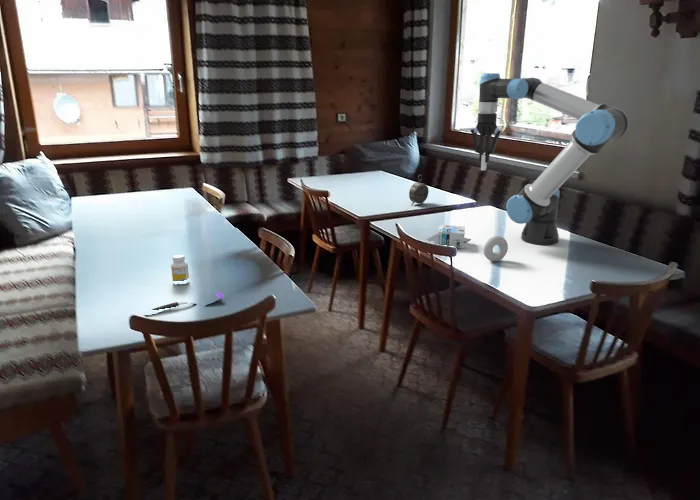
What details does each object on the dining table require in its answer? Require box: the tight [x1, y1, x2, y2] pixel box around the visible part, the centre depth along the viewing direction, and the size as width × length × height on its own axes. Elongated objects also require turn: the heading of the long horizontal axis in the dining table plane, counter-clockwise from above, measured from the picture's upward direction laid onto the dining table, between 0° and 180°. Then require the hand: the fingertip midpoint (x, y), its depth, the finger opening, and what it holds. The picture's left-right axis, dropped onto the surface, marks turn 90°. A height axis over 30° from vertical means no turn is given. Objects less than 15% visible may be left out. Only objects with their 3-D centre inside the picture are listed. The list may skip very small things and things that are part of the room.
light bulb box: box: [437, 224, 466, 249], centre depth 231 cm, size 11×7×11 cm
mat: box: [425, 233, 471, 244], centre depth 236 cm, size 15×16×1 cm
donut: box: [483, 235, 509, 262], centre depth 211 cm, size 10×4×10 cm, turn 109°
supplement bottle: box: [170, 254, 190, 282], centre depth 190 cm, size 5×5×10 cm
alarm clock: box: [408, 174, 429, 206], centre depth 294 cm, size 11×5×16 cm, turn 130°
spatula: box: [152, 291, 225, 310], centre depth 173 cm, size 24×7×2 cm, turn 120°
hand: (483, 169), depth 236 cm, fingers closed
